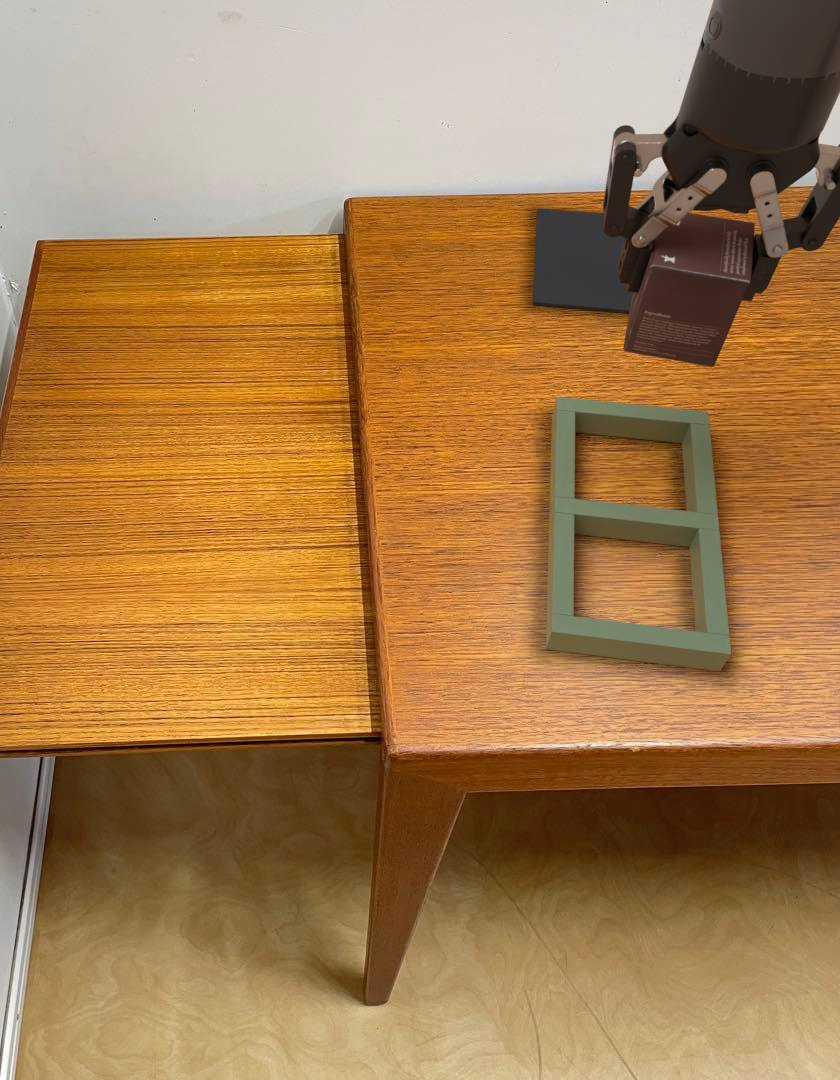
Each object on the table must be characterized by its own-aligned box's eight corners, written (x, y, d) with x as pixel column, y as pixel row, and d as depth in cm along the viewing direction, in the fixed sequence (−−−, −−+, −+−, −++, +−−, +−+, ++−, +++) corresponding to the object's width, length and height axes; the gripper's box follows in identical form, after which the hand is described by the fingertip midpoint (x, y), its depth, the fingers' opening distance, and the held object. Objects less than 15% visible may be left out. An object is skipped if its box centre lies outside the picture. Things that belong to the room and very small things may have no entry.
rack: (551, 416, 83) (557, 396, 81) (699, 431, 82) (708, 411, 80) (545, 649, 70) (551, 631, 68) (720, 671, 69) (731, 654, 67)
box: (713, 371, 65) (752, 283, 59) (620, 353, 66) (648, 265, 60) (720, 311, 68) (757, 221, 62) (631, 294, 69) (659, 205, 63)
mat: (680, 222, 98) (682, 219, 97) (689, 319, 90) (690, 315, 89) (537, 211, 99) (537, 208, 99) (532, 305, 91) (533, 301, 91)
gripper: (915, 3, 52) (793, 259, 66) (635, -11, 53) (573, 243, 67) (947, 81, 48) (810, 338, 61) (641, 64, 49) (573, 318, 63)
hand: (686, 287), depth 64 cm, fingers closed on box, 6 cm apart
